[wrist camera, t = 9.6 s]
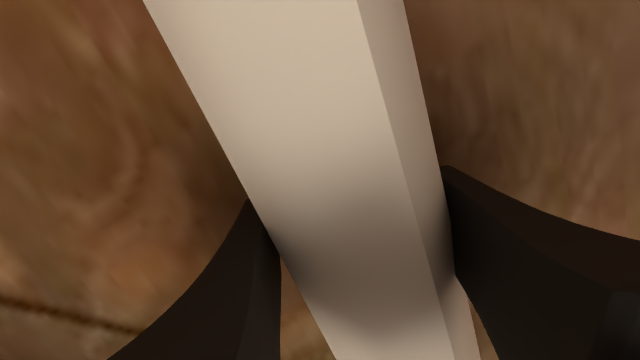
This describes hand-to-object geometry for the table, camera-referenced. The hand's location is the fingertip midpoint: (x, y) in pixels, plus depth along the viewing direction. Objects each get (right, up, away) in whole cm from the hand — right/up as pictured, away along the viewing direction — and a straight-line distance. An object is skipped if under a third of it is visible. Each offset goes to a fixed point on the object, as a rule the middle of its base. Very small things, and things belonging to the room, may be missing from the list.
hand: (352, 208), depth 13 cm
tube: (0, +1, +2) cm, 2 cm away
